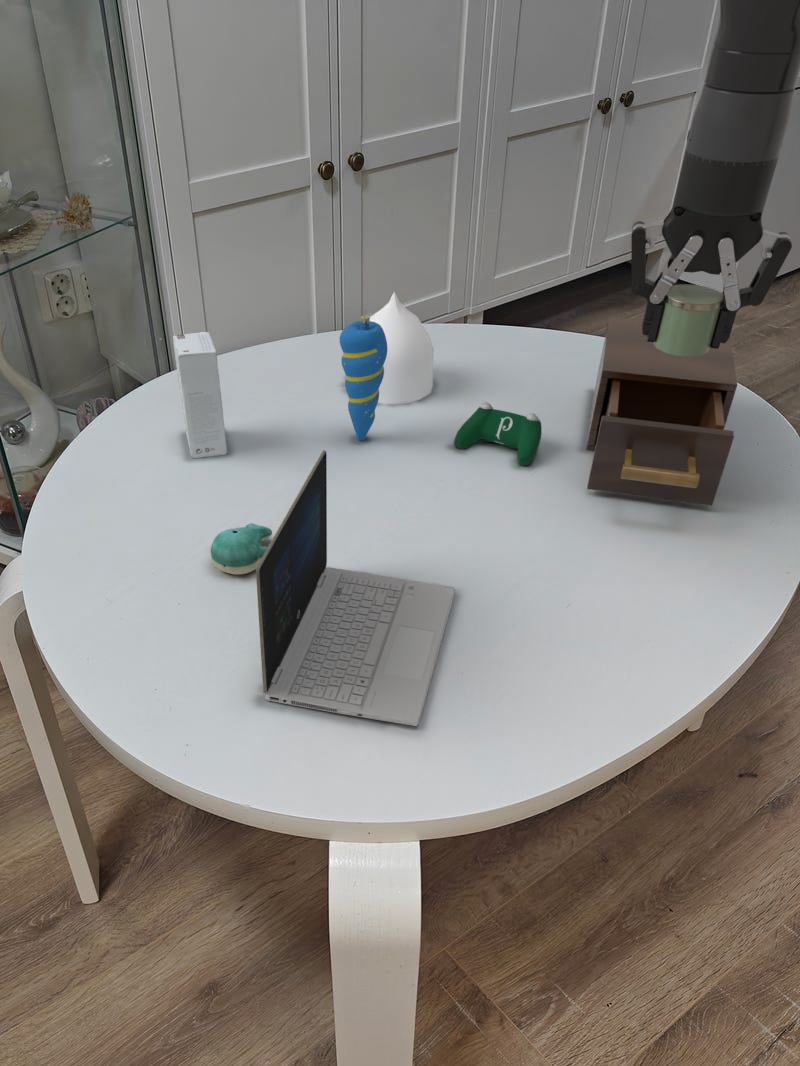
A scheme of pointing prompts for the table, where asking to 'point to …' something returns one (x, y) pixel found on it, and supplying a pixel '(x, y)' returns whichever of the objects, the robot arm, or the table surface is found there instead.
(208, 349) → the cosmetic box
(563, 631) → the table surface
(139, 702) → the table surface
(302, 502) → the laptop
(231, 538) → the whale figurine
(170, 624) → the table surface
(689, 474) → the drawer
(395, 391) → the teardrop
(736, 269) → the robot arm
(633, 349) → the cabinet
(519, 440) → the gaming controller
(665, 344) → the tin
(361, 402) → the ornament
